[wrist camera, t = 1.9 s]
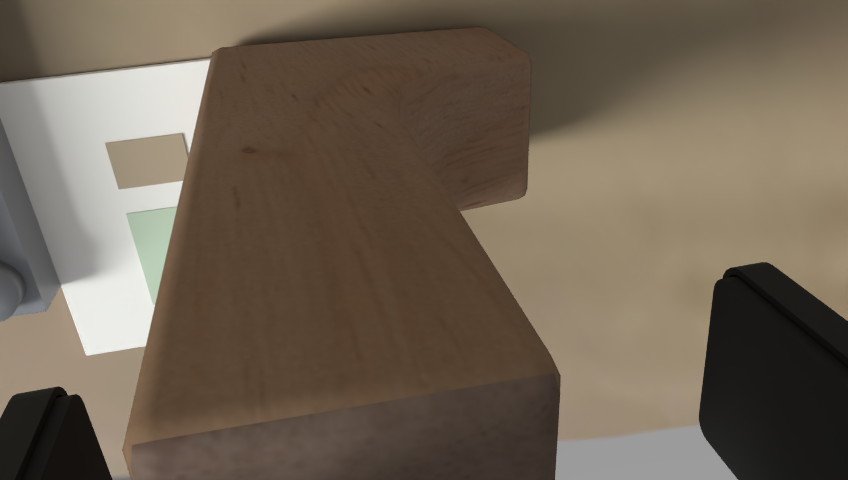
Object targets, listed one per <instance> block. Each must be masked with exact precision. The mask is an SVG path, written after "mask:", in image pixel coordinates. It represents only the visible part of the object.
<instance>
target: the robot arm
mask: <svg viewBox="0 0 848 480" xmlns="http://www.w3.org/2000/svg"><path fill="white" fill-rule="evenodd" d="M699 422H700V427H701V430H702V432H703V434H704V437H705V438H706V440H707V441H708V442H709V444H710V445H711V446H712V447H713V449H714V450H715V451H716V452H717V454H718V455H719V456H720V457H721V459H722V460H723V461H724V462H725V464H726V465H727V466H728V468H729V469H730V470H731V471H732V473H733V474H734V475H735V476H736V477H737V479H738V480H848V321H847V320H845V319H844V318H843V317H841V316H840V315H839V314H837V313H836V312H835V311H833V310H832V309H831V308H829V307H828V306H827V305H825V304H824V303H823V302H821V301H820V300H819V299H817V298H816V297H815V296H813V295H812V294H811V293H809V292H808V291H807V290H805V289H804V288H803V287H801V286H800V285H798V284H797V283H796V282H794V281H793V280H792V279H790V278H789V277H788V276H786V275H785V274H784V273H782V272H781V271H780V270H778V269H777V268H776V267H774V266H773V265H771V264H769V263H767V262H761V263H756V264H750V265H744V266H739V267H733V268H730V269H728V270H726V272H725V273H724V275H723V279H720V280H718V281H717V282H716V284H715V286H714V292H713V300H712V309H711V317H710V326H709V334H708V343H707V351H706V360H705V368H704V377H703V385H702V394H701V402H700V411H699ZM0 480H112V477H111V475H110V472H109V469H108V467H107V464H106V461H105V459H104V456H103V453H102V451H101V448H100V445H99V443H98V440H97V437H96V435H95V432H94V429H93V427H92V424H91V421H90V419H89V416H88V413H87V411H86V408H85V405H84V403H83V401H82V399H81V397H80V396H79V395H77V394H75V395H69V396H68V395H67V393H66V391H65V390H64V389H63V388H61V387H53V388H48V389H42V390H36V391H31V392H25V393H19V394H16V395H14V396H12V398H11V399H10V400H9V402H8V404H7V406H6V408H5V410H4V412H3V414H2V416H1V418H0Z"/></svg>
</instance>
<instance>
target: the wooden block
mask: <svg viewBox="0 0 848 480" xmlns="http://www.w3.org/2000/svg"><path fill="white" fill-rule="evenodd" d="M530 89H531V60H530V58H529V56H528V53H526V52H524V51H523V50H521V49H519V48H518V47H516V46H515V45H513V44H511V43H510V42H508V41H506V40H505V39H503V38H502V37H500V36H498V35H497V34H495V33H493V32H492V31H490V30H488V29H485V28H482V27H472V28H460V29H447V30H435V31H422V32H410V33H397V34H384V35H372V36H359V37H347V38H334V39H322V40H310V41H297V42H285V43H273V44H260V45H248V46H235V47H223V48H220V49H218V50H216V51H214V52H212V56H211V60H210V64H209V68H208V73H207V77H206V81H205V85H204V90H203V94H202V99H201V103H200V108H199V112H198V117H197V121H196V126H195V130H194V134H193V139H192V143H191V148H190V152H189V157H188V161H187V166H186V170H185V175H184V179H183V183H182V188H181V192H180V197H179V201H178V206H177V210H176V214H175V219H174V223H173V228H172V232H171V237H170V241H169V245H168V250H167V254H166V259H165V263H164V268H163V272H162V276H161V281H160V285H159V290H158V294H157V299H156V303H155V307H154V312H153V316H152V321H151V325H150V330H149V334H148V338H147V343H146V347H145V352H144V356H143V361H142V365H141V369H140V374H139V378H138V383H137V387H136V392H135V396H134V400H133V405H132V409H131V414H130V418H129V423H128V427H127V431H126V436H125V440H124V445H123V449H122V451H123V454H124V457H125V461H126V464H127V467H128V471H129V474H130V477H131V480H555V469H556V451H557V436H558V419H559V403H560V374H559V372H558V369H557V367H556V365H555V363H554V361H553V359H552V356H551V355H550V353H549V351H548V350H547V348H546V347H545V345H544V344H543V342H542V340H541V339H540V337H539V336H538V334H537V333H536V331H535V329H534V328H533V326H532V325H531V323H530V322H529V320H528V318H527V317H526V315H525V314H524V312H523V311H522V309H521V307H520V306H519V304H518V303H517V301H516V299H515V298H514V296H513V295H512V293H511V292H510V290H509V288H508V287H507V285H506V284H505V282H504V281H503V279H502V277H501V276H500V274H499V273H498V271H497V270H496V268H495V266H494V265H493V263H492V262H491V260H490V258H489V257H488V255H487V254H486V252H485V251H484V249H483V247H482V246H481V244H480V243H479V241H478V240H477V238H476V236H475V235H474V233H473V232H472V230H471V229H470V227H469V225H468V224H467V222H466V221H465V219H464V218H463V216H462V214H461V213H460V211H464V210H468V209H473V208H478V207H483V206H488V205H492V204H497V203H502V202H507V201H512V200H516V199H519V198H521V197H523V196H525V194H526V191H527V182H528V151H529V120H530Z"/></svg>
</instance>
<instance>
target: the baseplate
mask: <svg viewBox="0 0 848 480" xmlns="http://www.w3.org/2000/svg"><path fill="white" fill-rule="evenodd" d="M60 286H61V284H60V281H59V279H58V276H57V273H56V270H55V268H54V265H53V262H52V259H51V256H50V254H49V251H48V248H47V245H46V243H45V240H44V237H43V234H42V232H41V229H40V226H39V223H38V221H37V218H36V215H35V212H34V210H33V207H32V204H31V201H30V199H29V196H28V193H27V190H26V187H25V185H24V182H23V179H22V176H21V174H20V171H19V168H18V165H17V163H16V160H15V157H14V154H13V152H12V149H11V146H10V143H9V141H8V138H7V135H6V132H5V130H4V127H3V124H2V121H1V118H0V322H1V321H4V320H6V319H8V318H9V317H11V316H18V315H24V314H31V313H37V312H44V311H47V309H48V308H49V306H50V304H51V302H52V300H53V299H54V297H55V295H56V293H57V291H58V289H59V288H60Z"/></svg>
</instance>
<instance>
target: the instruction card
mask: <svg viewBox="0 0 848 480" xmlns="http://www.w3.org/2000/svg"><path fill="white" fill-rule="evenodd" d="M210 60H211V58H206V59H198V60H189V61H181V62H172V63H164V64H155V65H146V66H138V67H129V68H121V69H112V70H104V71H95V72H87V73H78V74H69V75H61V76H52V77H44V78H35V79H27V80H18V81H10V82H1V83H0V118H1V121H2V124H3V127H4V130H5V132H6V135H7V138H8V141H9V143H10V146H11V149H12V152H13V154H14V157H15V160H16V163H17V165H18V168H19V171H20V174H21V176H22V179H23V182H24V185H25V187H26V190H27V193H28V196H29V199H30V201H31V204H32V207H33V210H34V212H35V215H36V218H37V221H38V223H39V226H40V229H41V232H42V234H43V237H44V240H45V243H46V245H47V248H48V251H49V254H50V256H51V259H52V262H53V265H54V268H55V270H56V273H57V276H58V279H59V281H60V284H61V287H62V290H63V292H64V295H65V298H66V301H67V303H68V306H69V309H70V312H71V314H72V317H73V320H74V323H75V325H76V328H77V331H78V334H79V336H80V339H81V342H82V345H83V348H84V350H85V353H86V355H93V354H99V353H105V352H111V351H118V350H124V349H130V348H136V347H142V346H146V343H147V338H148V334H149V330H150V325H151V321H152V316H153V312H154V307H155V303H156V299H157V294H158V290H159V285H160V281H161V276H162V272H163V268H164V263H165V259H166V254H167V250H168V245H169V241H170V237H171V232H172V228H173V223H174V219H175V214H176V210H177V206H178V201H179V197H180V192H181V188H182V183H183V179H184V175H185V170H186V166H187V161H188V157H189V152H190V148H191V143H192V139H193V134H194V130H195V126H196V121H197V117H198V112H199V108H200V103H201V99H202V94H203V90H204V85H205V81H206V77H207V73H208V68H209V64H210Z"/></svg>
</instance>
